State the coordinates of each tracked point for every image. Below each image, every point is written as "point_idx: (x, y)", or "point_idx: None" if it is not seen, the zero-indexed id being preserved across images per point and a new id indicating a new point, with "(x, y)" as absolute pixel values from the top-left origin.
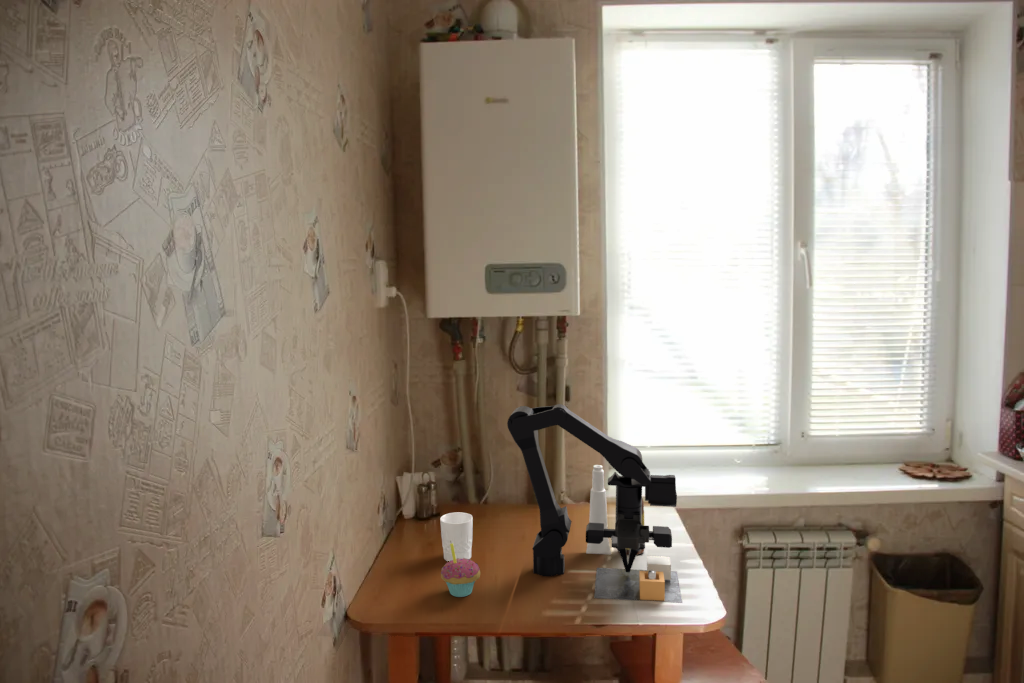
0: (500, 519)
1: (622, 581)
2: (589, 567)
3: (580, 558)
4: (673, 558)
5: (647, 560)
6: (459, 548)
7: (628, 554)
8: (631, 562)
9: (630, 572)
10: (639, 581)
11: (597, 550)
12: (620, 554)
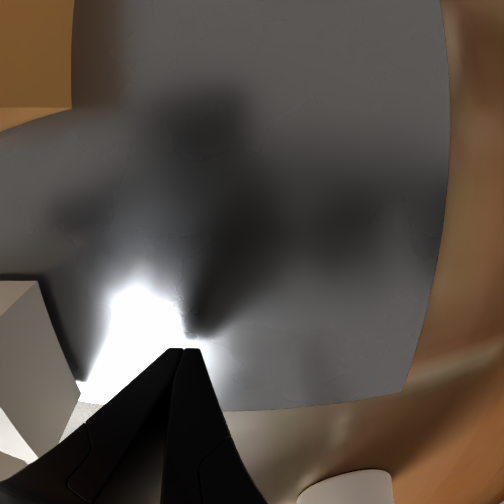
0: (500, 489)
1: (223, 217)
2: (410, 406)
3: (421, 450)
4: None
5: (3, 411)
6: None
7: None
8: (121, 404)
9: None
10: (21, 51)
11: (362, 497)
12: (252, 491)
